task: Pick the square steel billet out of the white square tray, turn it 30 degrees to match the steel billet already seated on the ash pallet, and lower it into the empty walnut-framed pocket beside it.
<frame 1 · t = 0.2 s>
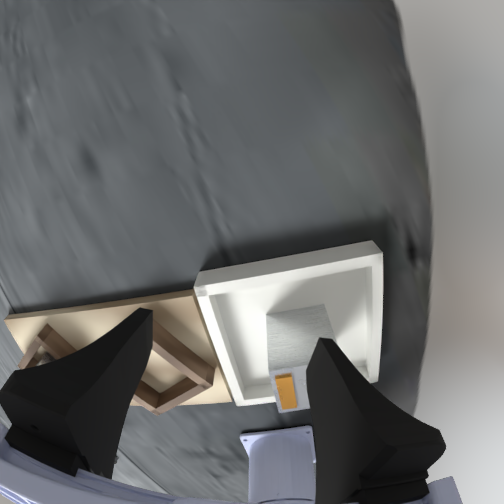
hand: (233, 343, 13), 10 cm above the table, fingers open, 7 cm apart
white square tray: (297, 327, 24), on the table
loose billet: (298, 331, 24), point 1 cm above the table, touching white square tray
pallet: (106, 357, 26), on the table
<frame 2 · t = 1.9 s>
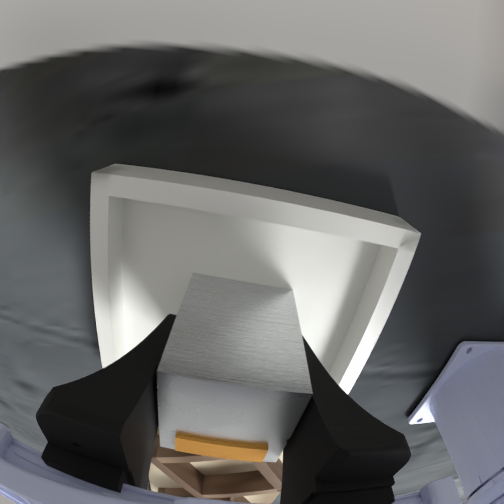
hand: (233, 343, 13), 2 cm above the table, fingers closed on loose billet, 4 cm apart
white square tray: (235, 314, 15), on the table
loose billet: (235, 321, 14), point 1 cm above the table, touching gripper, white square tray
pallet: (216, 473, 22), on the table
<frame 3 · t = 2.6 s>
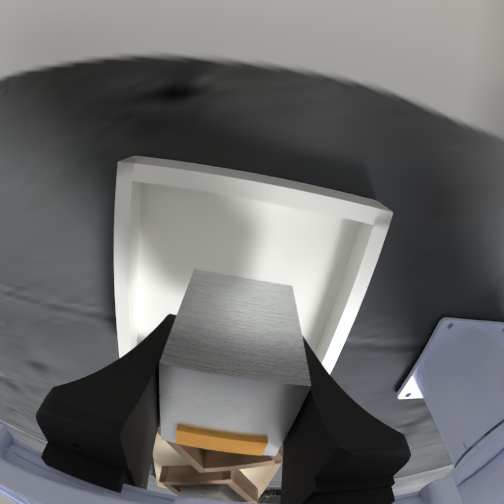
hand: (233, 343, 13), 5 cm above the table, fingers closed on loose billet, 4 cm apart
white square tray: (236, 286, 17), on the table
phone: (311, 497, 31), on the table
seated billet: (211, 479, 26), point 1 cm above the table, touching pallet
loose billet: (235, 317, 15), point 3 cm above the table, touching gripper
pallet: (217, 450, 24), on the table
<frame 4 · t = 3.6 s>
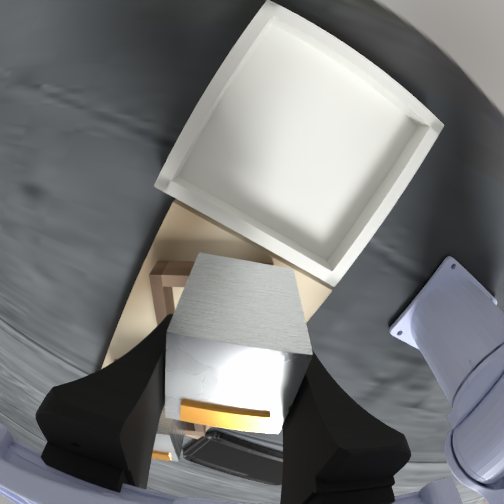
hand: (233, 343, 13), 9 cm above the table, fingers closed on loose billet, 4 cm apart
white square tray: (302, 143, 18), on the table
phone: (248, 457, 33), on the table
seated billet: (162, 393, 25), point 1 cm above the table, touching pallet
loose billet: (238, 301, 15), point 6 cm above the table, touching gripper
pallet: (187, 350, 24), on the table
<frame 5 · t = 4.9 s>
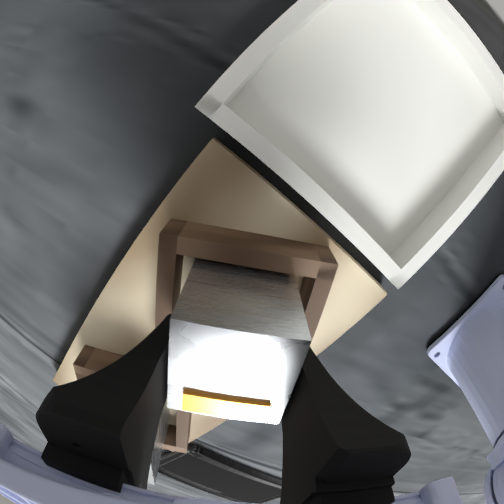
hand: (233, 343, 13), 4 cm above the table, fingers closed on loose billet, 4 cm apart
white square tray: (388, 104, 13), on the table
phone: (225, 474, 27), on the table
seated billet: (140, 395, 19), point 1 cm above the table, touching pallet
loose billet: (238, 295, 16), point 1 cm above the table, touching gripper
pallet: (183, 346, 19), on the table
when the fingers open (4 cm above the table, at t = 5.5 s): loose billet stays where it is, resting on pallet.
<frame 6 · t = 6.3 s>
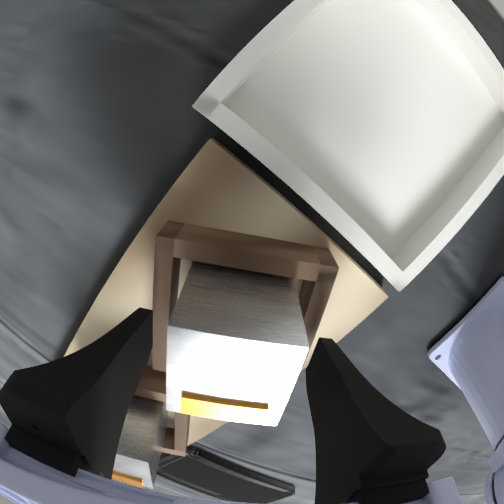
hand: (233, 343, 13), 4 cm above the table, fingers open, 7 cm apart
white square tray: (390, 104, 13), on the table
phone: (225, 476, 27), on the table
seated billet: (138, 398, 19), point 1 cm above the table, touching pallet
loose billet: (237, 296, 16), point 1 cm above the table, touching pallet
pallet: (181, 350, 18), on the table
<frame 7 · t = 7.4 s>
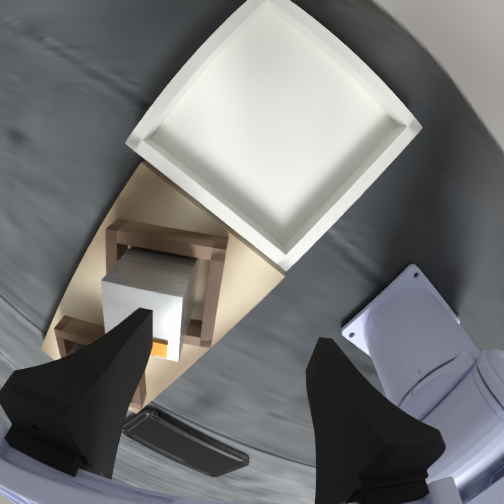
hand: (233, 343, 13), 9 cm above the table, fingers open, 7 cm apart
white square tray: (276, 124, 18), on the table
phone: (186, 442, 32), on the table
loose billet: (167, 272, 21), point 1 cm above the table, touching pallet
pallet: (135, 317, 24), on the table
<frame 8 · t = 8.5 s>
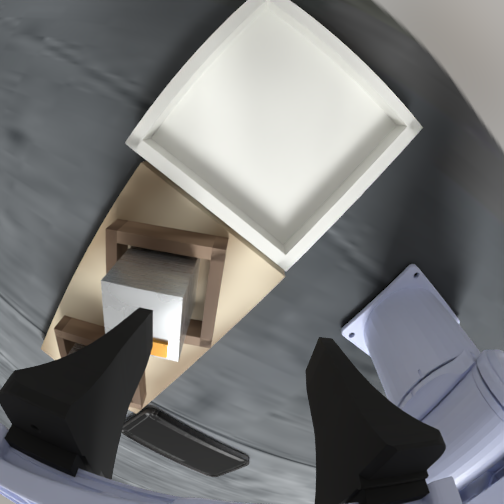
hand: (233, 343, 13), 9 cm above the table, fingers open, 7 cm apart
white square tray: (276, 124, 18), on the table
phone: (186, 442, 32), on the table
loose billet: (167, 272, 21), point 1 cm above the table, touching pallet
pallet: (135, 317, 24), on the table
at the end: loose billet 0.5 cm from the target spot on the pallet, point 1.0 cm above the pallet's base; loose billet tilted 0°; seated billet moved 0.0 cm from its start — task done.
